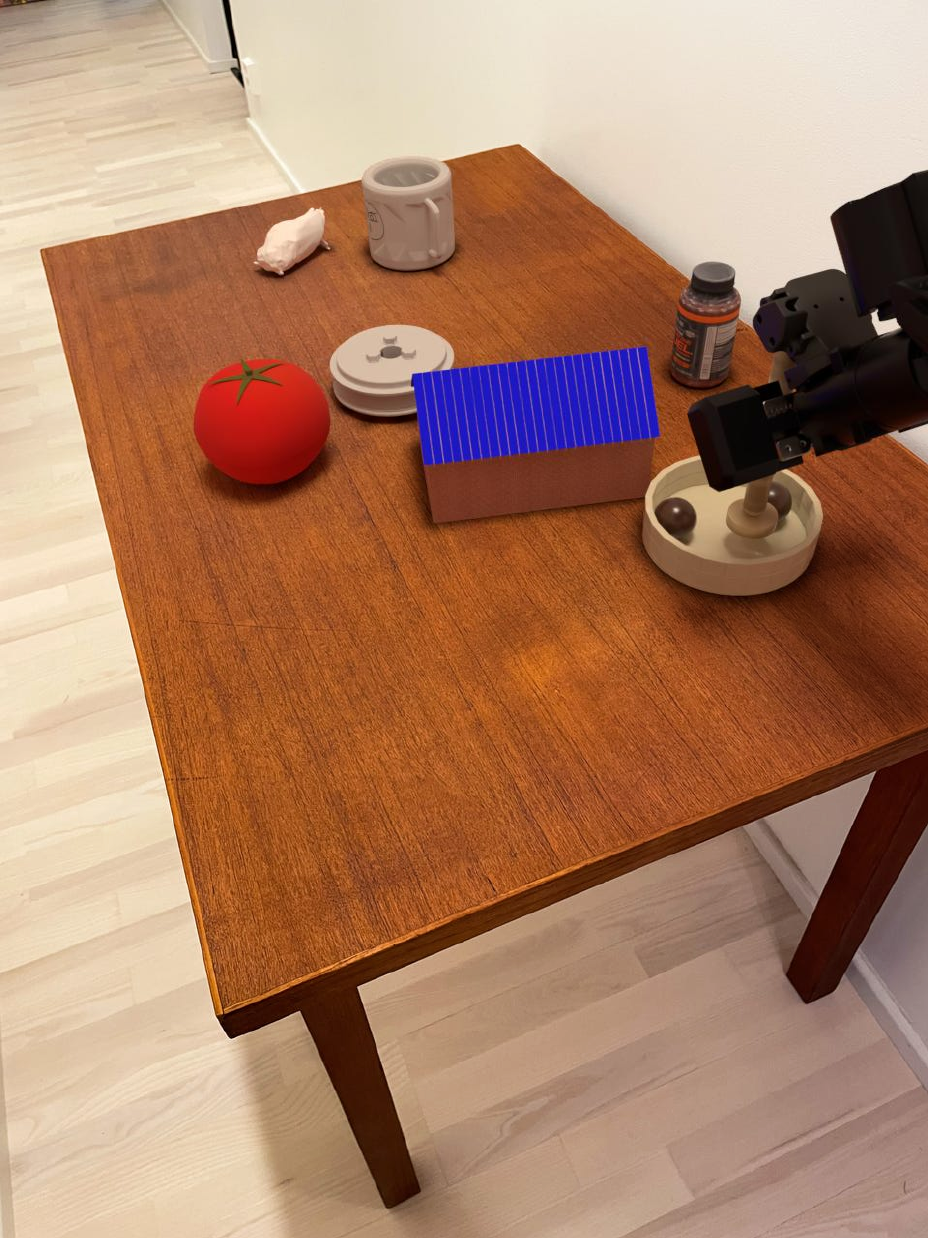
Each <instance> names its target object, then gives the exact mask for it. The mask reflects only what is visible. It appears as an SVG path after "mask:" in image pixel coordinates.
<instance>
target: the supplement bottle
mask: <svg viewBox="0 0 928 1238" xmlns="http://www.w3.org/2000/svg"><path fill="white" fill-rule="evenodd" d="M735 279H736V270H735V268H734V267H733V266H732V265H730V264H727V263H725V262H721V261H705V262H701V263H699V264H697V265H696V266H694V267H693V269H692V273H691V278H690V283H689V284H688V285H686V286H685V287H683V289H682V290H681V291H680V294H679V297H678V303H677V310H676V317H675V318H676V319H675V326H674V334H673V341H672V347H671V348H672V349H671V358H670V368H669V369H670V370H669V371H670V373H671V376H672V377H673V378H674V379H675V380H676V381H677V382H679V383H680V384H682V385H685V386H686V387H692V388H701V389H703V388H704V389H705V388H711V387H715V386H718V385H720V384H721V383H723V382H725V380H726V379H727V378H728V375H729V370H730V367H731V361H732V356H733V350H734V345H735V339H736V334H737V328H738V324H739V323H738V322H739V316H740V310H741V304H742V298H741V294H740V292H739V290H738V289H737V288H736V287H734V286H735V283H736V281H735Z"/></svg>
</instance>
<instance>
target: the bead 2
mask: <svg viewBox="0 0 928 1238" xmlns="http://www.w3.org/2000/svg"><path fill="white" fill-rule="evenodd" d="M768 503H770V504H771V505H773V506H774V507H775V509H776V510H777V512H778V522H780V521H782V520H783V519H784V518H785V517H786V516H787V515H788V514H789V512H790V510H791V507H792V497H791V494H790V492H789V490H788V489H787V488H786V487H785V486H784V485H782V484H781V483H778V482H775V481H772V484H771V489H770V493H769V497H768ZM778 522H777V523H778Z"/></svg>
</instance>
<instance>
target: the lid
mask: <svg viewBox="0 0 928 1238" xmlns="http://www.w3.org/2000/svg"><path fill="white" fill-rule="evenodd" d="M329 360H330V361H329V370H330V374H331V376H332V378H333V384H332V388H333V392H334V395H335V397H336V398H337V400H338V401H339V402H340V403H341V404H342V405H343V406H345V407H346V408H348V409H350V410H352V411H354V412H356V413H361V414H362V415H368V416H374V417H399V416H407V415H411V414H415V413H416V414H417V407H416V399H415V392H414V387H411V379H412V374H414V373H423V372H431V371H440V370H449V369H454V364H455V352H454V349H453V346H451V343H450V342H449V341H447V340H446V339H445V338H444V337H442V336H440V335H439V334H436V333H435V332H433V331H431V330H429V329H427V328H423V327H421V326H415V325H412V324H411V325H410V324H387V325H380V326H375V327H371V328H368V329H365V330H362V331H359V332H358V333H356V334H353V335H352V336H351V337H349V338H348V339H347V340H345V341H344V342H343V343H342V344H340V345H339V346H338V348H336V349H335V351H334V352H333V354H332V355H331V358H330V359H329Z"/></svg>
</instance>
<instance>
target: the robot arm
mask: <svg viewBox="0 0 928 1238" xmlns="http://www.w3.org/2000/svg"><path fill="white" fill-rule="evenodd" d="M829 220H830V224H831V227H832V230H833V233H834V238H835V240H836V244H837V247H838V252H839V255H840V258H841V262H842V265H843V269H844V271H842V270H840V269H838V268H829V269H828V268H827V269H824V270H821V271H818V272H817V271H816V272H815V273H810V274H806V275H802V276H799V277H795V278H792V279H790V280H788V281H787V282H786V283H785V285H784V286H783V287H779V288H775V289H774V290H773V291H772V292H771V294H770V295H767V296H763V297H761V298H760V300H759V307H758V309H757V310H756V312H755V314H754V315H753V317H752V328H753V331H754V332H755V334H756V336H757V337H758V339H759V340H760V342H761V345H762V346H763V347H764V349H765V351H766V352H767V353H769V354H775V353H776V352H779V351H783V352H786V353H787V355H788V357H789V358H790V359H791V360H792V361H793V362H794V363H796V365H797V366H795V367H793V368H791V369H789V370H787V371H785V372H784V375H785V378H786V381H787V385H788V388H789V389H790V390H793V392H792V393H789V394H786V395H783V392H782V389H781V386H780V383H779V380H777V381H774V382H771V383H768V382H766V383H765V384H761V385H758V386H755V387H753V386H751V385H750V383H747V384H745V385H740V386H737V387H734V388H730V389H728V390H725V391H721V392H717V393H714V394H711V395H708V396H707V395H706V396H704V397H702V398H701V399H699V400H697V401H695V402H693V403H691V404H690V407H689V409H688V411H687V413H686V416H687V419H688V423H689V426H690V429H691V432H692V436H693V439H694V442H695V445H696V448H697V452H698V456H699V455H700V458H701V461H702V464H703V468H704V471H705V474H706V477H707V480H708V484H709V487H711V488H712V489H714V490H716V491H718V492H722V491H725V490H728V489H731V488H734V487H737V486H740V485H743V484H747V483H750V482H753V481H756V480H759V479H762V478H765V477H768V476H771V475H774V474H776V472H779V471H782V470H785V469H787V470H789V469H791V468H794V467H797V466H800V465H802V464H804V463H805V462H804V458H803V456H805V455H807V454H808V453H809V452H810V451H812V448H813V451H814V455H815V457H816V458H818V457H821V456H823V455H824V456H825V455H827V454H830V453H833V452H836V451H838V452H843V451H846V450H848V449H852V448H855V447H858V446H862V445H864V444H867V443H870V442H871V441H872V440H874V439H876V438H879V437H882V436H885V435H889V434H892V433H895V432H898V434H901V433H904V432H908V431H911V430H914V429H917V428H920V427H923V426H926V425H928V169H926V170H921V171H917V172H912V173H911V174H910V175H908V176H906V177H905V178H904V179H902V180H901V181H898V182H896V183H893V184H891V185H888V186H885V187H882V188H880V189H878V190H876V191H874V192H871V193H869V194H867V195H865V196H864V197H861V198H857V199H852V200H849V201H846V202H845V203H843V204H842V205H840V206H839V207H838V208H837V209H835V210H834V211H833V212H832V213H831V215H830V216H829ZM875 312H876V316H877V320H878V322H881V323H882V322H886V321H890V320H894V319H895V320H896V323H897V324H898V328H896V329H894V330H891V331H887V332H885V333H880V334H878V331H877V329H876V327H875V325H874V323H873V315H872V314H873V313H875ZM794 390H795V391H794Z"/></svg>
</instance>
